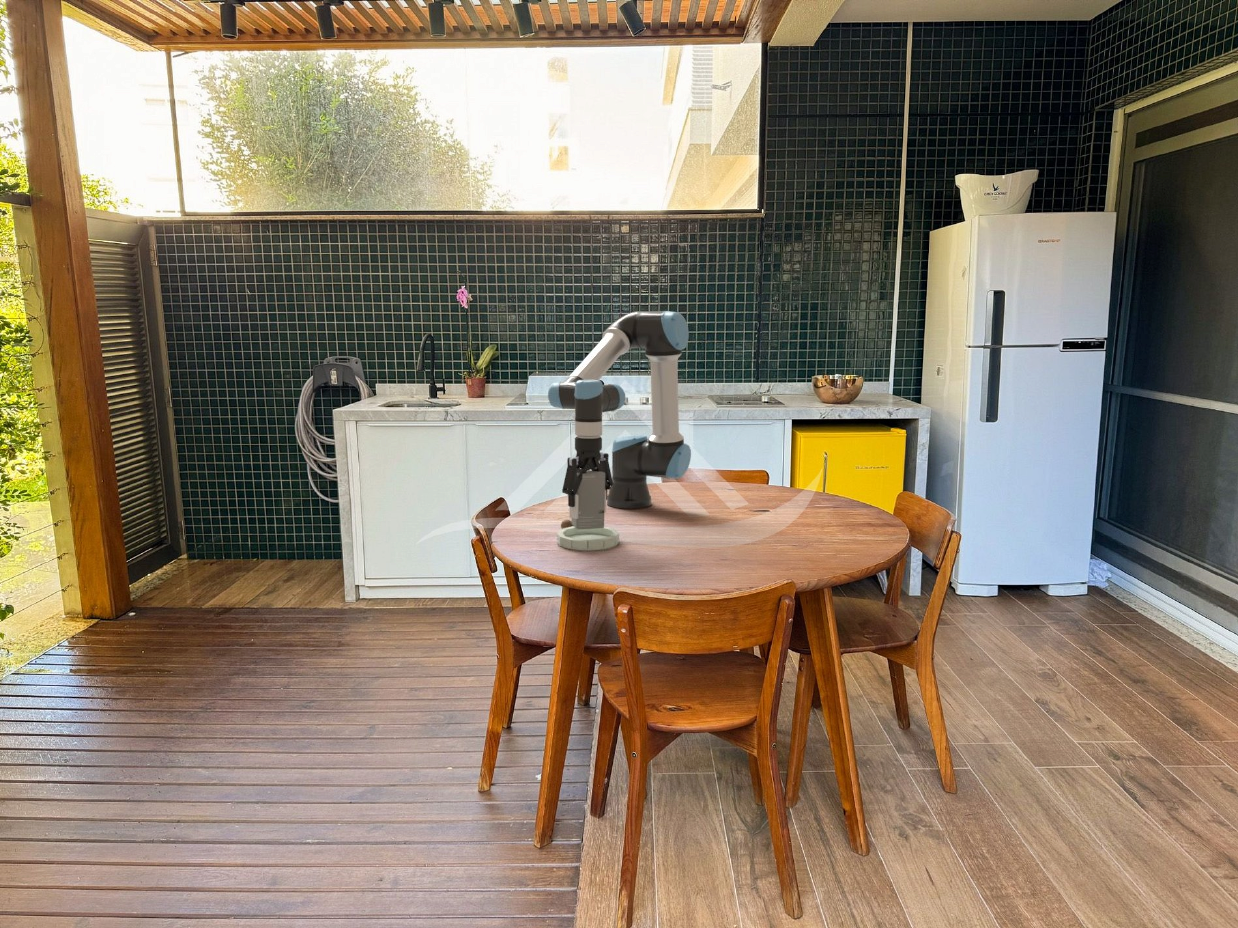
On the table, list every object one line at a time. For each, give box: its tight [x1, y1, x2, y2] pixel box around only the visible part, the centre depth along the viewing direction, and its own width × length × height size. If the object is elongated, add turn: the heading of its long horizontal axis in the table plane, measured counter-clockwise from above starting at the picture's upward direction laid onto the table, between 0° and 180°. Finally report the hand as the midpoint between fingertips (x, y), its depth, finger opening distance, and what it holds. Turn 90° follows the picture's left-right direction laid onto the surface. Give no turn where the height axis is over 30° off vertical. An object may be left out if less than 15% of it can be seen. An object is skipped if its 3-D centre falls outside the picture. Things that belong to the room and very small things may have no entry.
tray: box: [556, 525, 620, 552], centre depth 234 cm, size 17×17×3 cm
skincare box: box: [571, 469, 605, 530], centre depth 232 cm, size 8×7×16 cm
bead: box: [560, 519, 573, 529], centre depth 246 cm, size 4×4×4 cm
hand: (588, 514), depth 233 cm, fingers closed on skincare box, 10 cm apart
